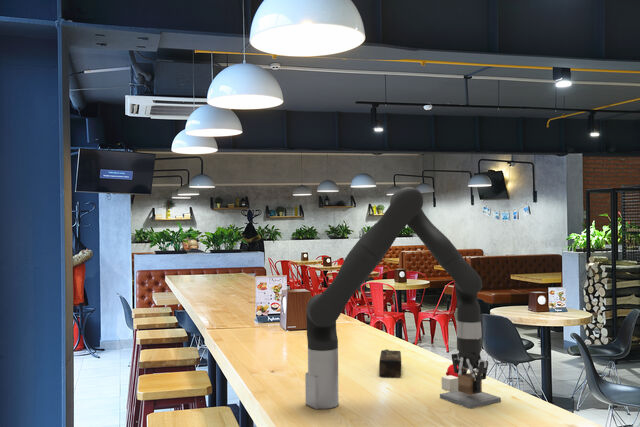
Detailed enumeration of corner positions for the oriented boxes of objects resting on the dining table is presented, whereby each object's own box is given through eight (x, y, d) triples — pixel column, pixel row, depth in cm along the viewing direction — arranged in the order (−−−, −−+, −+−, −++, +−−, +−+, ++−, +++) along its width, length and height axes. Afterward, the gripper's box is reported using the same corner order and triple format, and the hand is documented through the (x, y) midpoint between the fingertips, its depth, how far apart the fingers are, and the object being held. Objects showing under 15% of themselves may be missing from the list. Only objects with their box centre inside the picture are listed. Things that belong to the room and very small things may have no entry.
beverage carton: (401, 365, 233) (401, 348, 233) (401, 378, 214) (401, 360, 214) (380, 365, 234) (380, 348, 234) (378, 378, 215) (378, 359, 215)
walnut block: (469, 395, 184) (469, 378, 184) (458, 391, 188) (458, 375, 188) (481, 392, 186) (481, 376, 186) (470, 388, 191) (469, 372, 191)
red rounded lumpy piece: (443, 370, 212) (442, 364, 207) (459, 364, 212) (458, 358, 207) (452, 391, 207) (451, 386, 202) (468, 385, 207) (468, 380, 202)
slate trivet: (469, 408, 178) (469, 404, 178) (439, 397, 189) (439, 393, 189) (500, 401, 185) (500, 397, 185) (470, 391, 196) (470, 387, 196)
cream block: (449, 391, 196) (449, 379, 196) (441, 389, 200) (441, 376, 200) (459, 390, 198) (459, 377, 198) (451, 387, 202) (450, 375, 202)
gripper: (444, 333, 192) (444, 387, 191) (477, 340, 179) (477, 398, 179) (461, 330, 196) (462, 383, 195) (495, 338, 183) (496, 394, 183)
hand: (469, 390), depth 187 cm, fingers closed on walnut block, 5 cm apart
